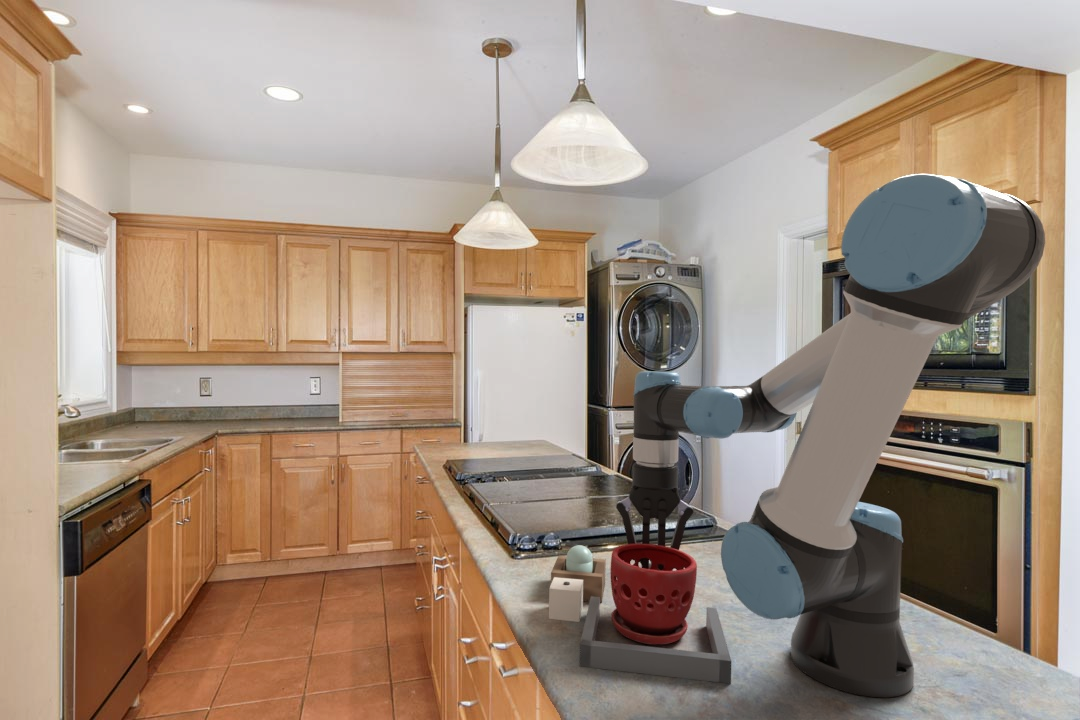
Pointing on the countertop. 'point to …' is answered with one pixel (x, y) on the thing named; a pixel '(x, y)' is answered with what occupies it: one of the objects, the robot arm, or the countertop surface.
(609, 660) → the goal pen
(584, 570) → the dome button
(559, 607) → the cream cube with hole
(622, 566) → the plant pot
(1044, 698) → the countertop surface
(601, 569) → the button box
